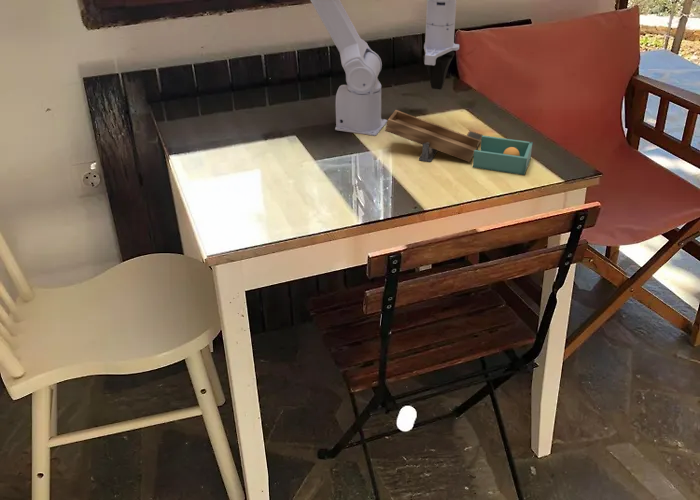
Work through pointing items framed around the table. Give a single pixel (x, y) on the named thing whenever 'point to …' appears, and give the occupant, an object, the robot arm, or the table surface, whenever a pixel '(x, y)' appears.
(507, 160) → the teal open-ended tray
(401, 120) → the lever
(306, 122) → the table surface
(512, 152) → the ball
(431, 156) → the fulcrum
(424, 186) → the table surface
